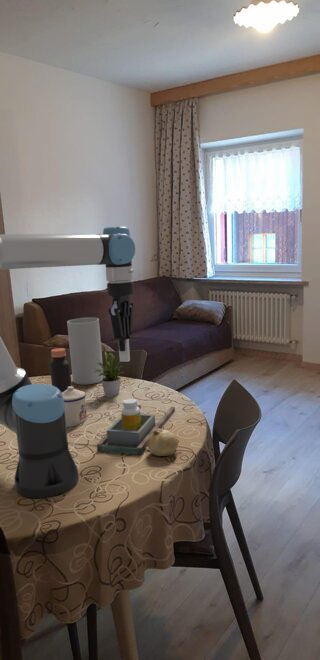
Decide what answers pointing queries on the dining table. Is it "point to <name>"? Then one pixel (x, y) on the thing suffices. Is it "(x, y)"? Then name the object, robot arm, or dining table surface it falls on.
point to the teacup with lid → (74, 406)
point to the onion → (162, 442)
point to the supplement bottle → (131, 415)
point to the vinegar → (60, 370)
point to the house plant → (110, 376)
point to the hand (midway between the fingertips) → (124, 360)
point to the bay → (142, 446)
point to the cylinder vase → (85, 350)
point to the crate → (130, 432)
